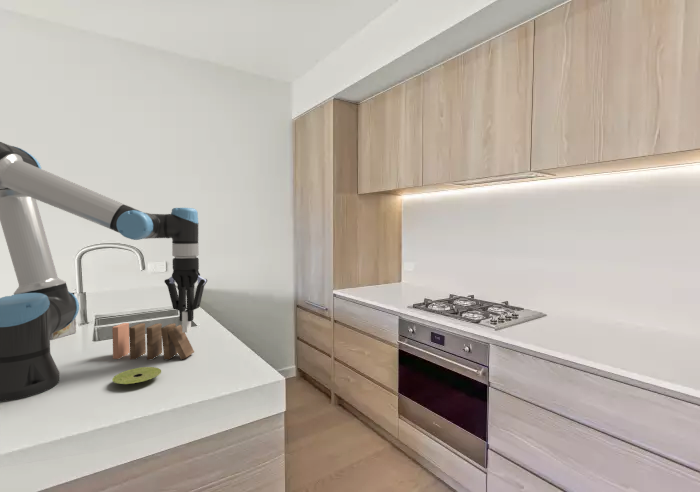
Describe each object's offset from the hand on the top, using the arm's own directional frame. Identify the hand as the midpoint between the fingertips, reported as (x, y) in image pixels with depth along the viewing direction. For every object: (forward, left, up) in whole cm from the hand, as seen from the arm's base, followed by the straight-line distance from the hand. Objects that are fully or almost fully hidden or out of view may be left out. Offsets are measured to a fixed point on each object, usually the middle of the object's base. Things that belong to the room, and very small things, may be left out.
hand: (186, 331), depth 114 cm
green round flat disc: (-17, +10, -9) cm, 21 cm away
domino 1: (+7, +20, -8) cm, 23 cm away
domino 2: (+5, +15, -8) cm, 18 cm away
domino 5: (0, 0, -8) cm, 8 cm away
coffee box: (+40, +50, -9) cm, 65 cm away
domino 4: (+2, +5, -8) cm, 10 cm away
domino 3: (+4, +10, -8) cm, 14 cm away
